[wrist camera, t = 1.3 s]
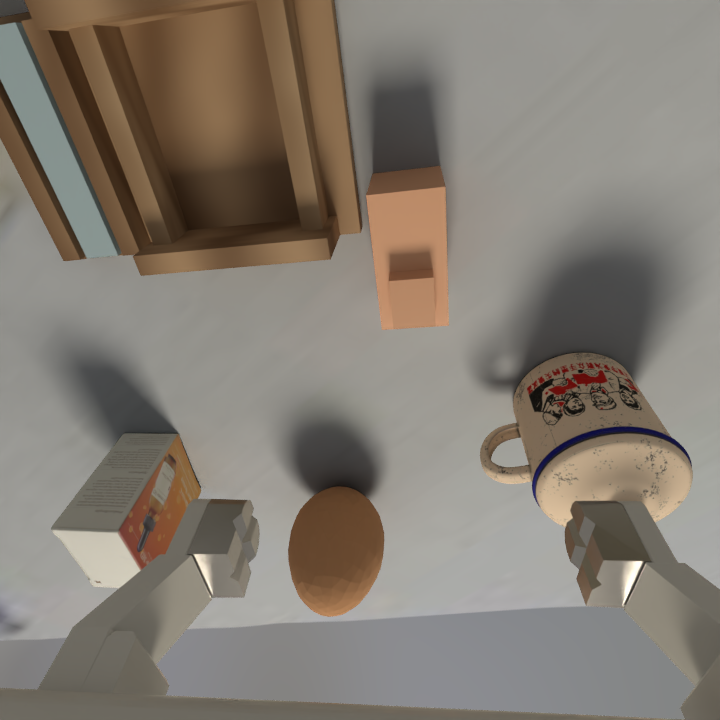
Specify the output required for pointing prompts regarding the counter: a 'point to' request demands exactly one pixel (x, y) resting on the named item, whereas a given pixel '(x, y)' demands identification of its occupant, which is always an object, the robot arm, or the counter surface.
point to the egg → (335, 550)
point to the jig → (197, 128)
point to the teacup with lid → (590, 440)
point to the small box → (128, 508)
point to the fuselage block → (410, 247)
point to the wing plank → (53, 142)
